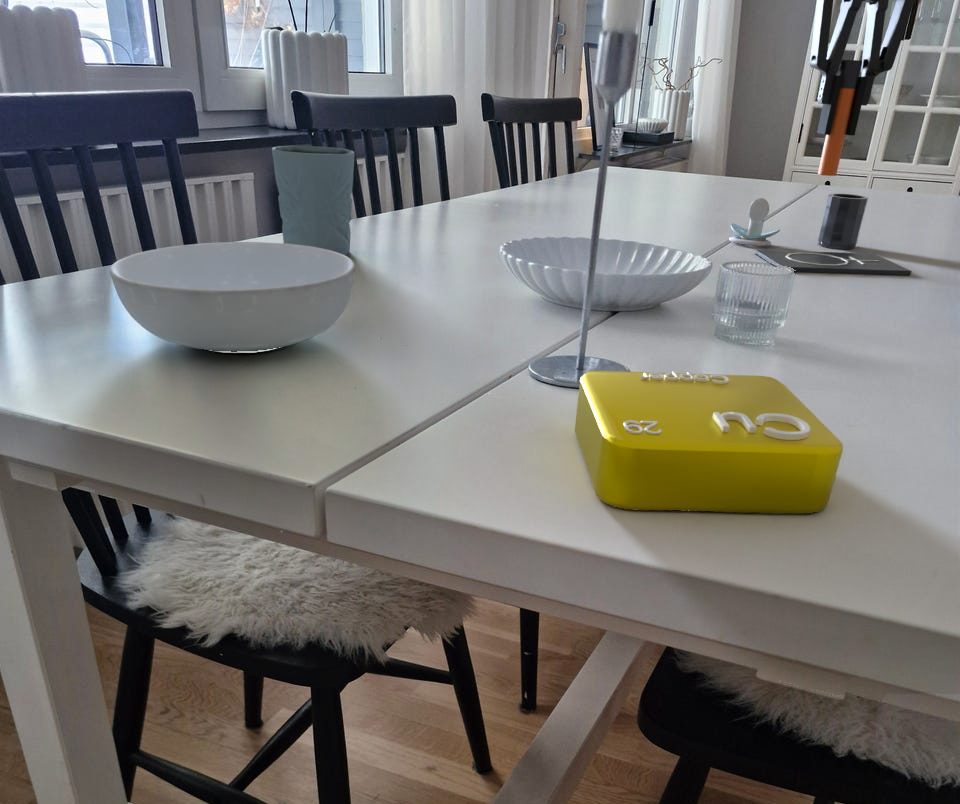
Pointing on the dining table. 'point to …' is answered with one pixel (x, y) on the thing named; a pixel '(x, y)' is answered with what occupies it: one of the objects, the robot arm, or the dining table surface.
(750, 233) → the pacifier
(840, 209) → the pen pot
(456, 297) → the dining table surface
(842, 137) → the marker
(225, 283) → the serving bowl
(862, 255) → the slate board
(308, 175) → the green vase
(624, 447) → the element tile
